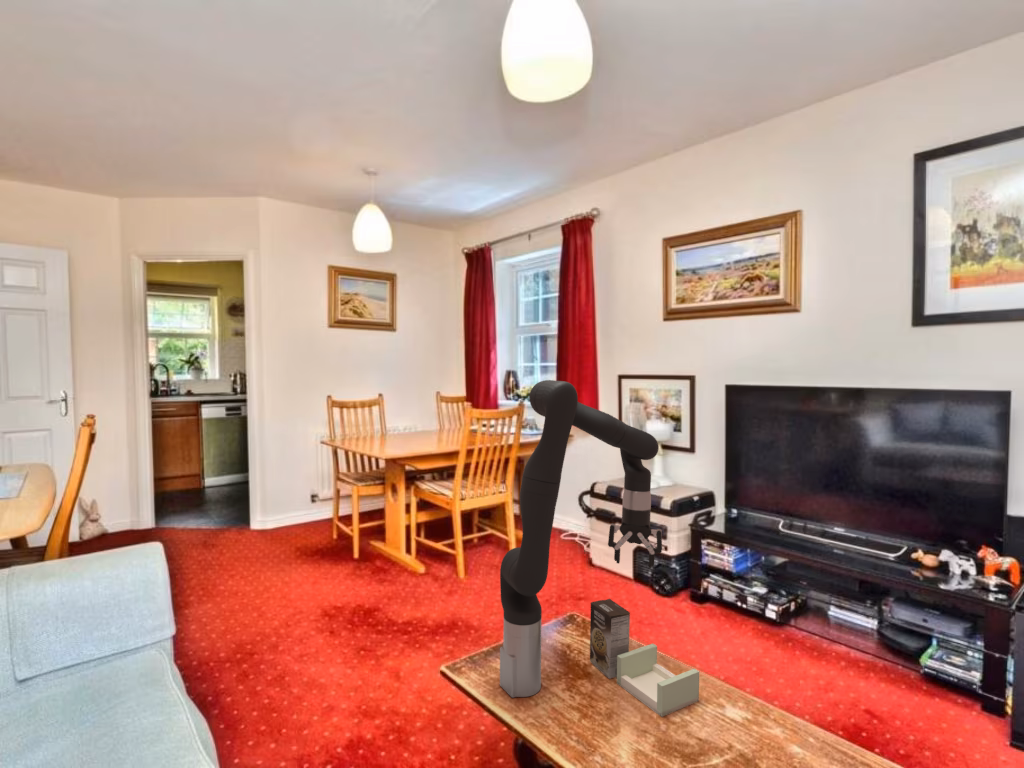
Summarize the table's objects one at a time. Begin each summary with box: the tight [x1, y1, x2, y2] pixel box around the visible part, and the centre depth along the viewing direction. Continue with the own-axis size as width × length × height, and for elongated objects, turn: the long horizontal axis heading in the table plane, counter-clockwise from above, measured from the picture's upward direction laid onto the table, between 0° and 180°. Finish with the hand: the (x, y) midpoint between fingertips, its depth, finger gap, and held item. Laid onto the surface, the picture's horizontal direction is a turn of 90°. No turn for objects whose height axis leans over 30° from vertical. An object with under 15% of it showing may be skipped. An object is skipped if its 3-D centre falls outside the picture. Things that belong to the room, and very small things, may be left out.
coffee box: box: [589, 598, 631, 679], centre depth 143 cm, size 9×6×16 cm
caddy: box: [616, 643, 700, 718], centre depth 133 cm, size 12×15×7 cm
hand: (634, 564), depth 151 cm, fingers open, 8 cm apart
